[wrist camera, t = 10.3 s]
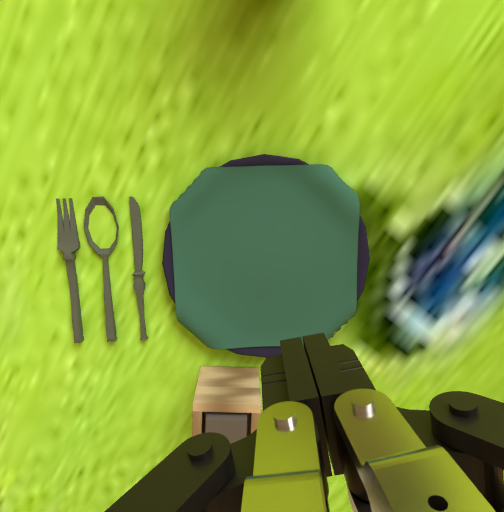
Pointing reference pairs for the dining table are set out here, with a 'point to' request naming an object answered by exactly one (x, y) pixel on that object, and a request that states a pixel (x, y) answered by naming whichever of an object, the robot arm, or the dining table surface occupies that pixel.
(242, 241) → the cutlery set
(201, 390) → the button box
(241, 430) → the button cap
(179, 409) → the dining table surface
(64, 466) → the dining table surface
